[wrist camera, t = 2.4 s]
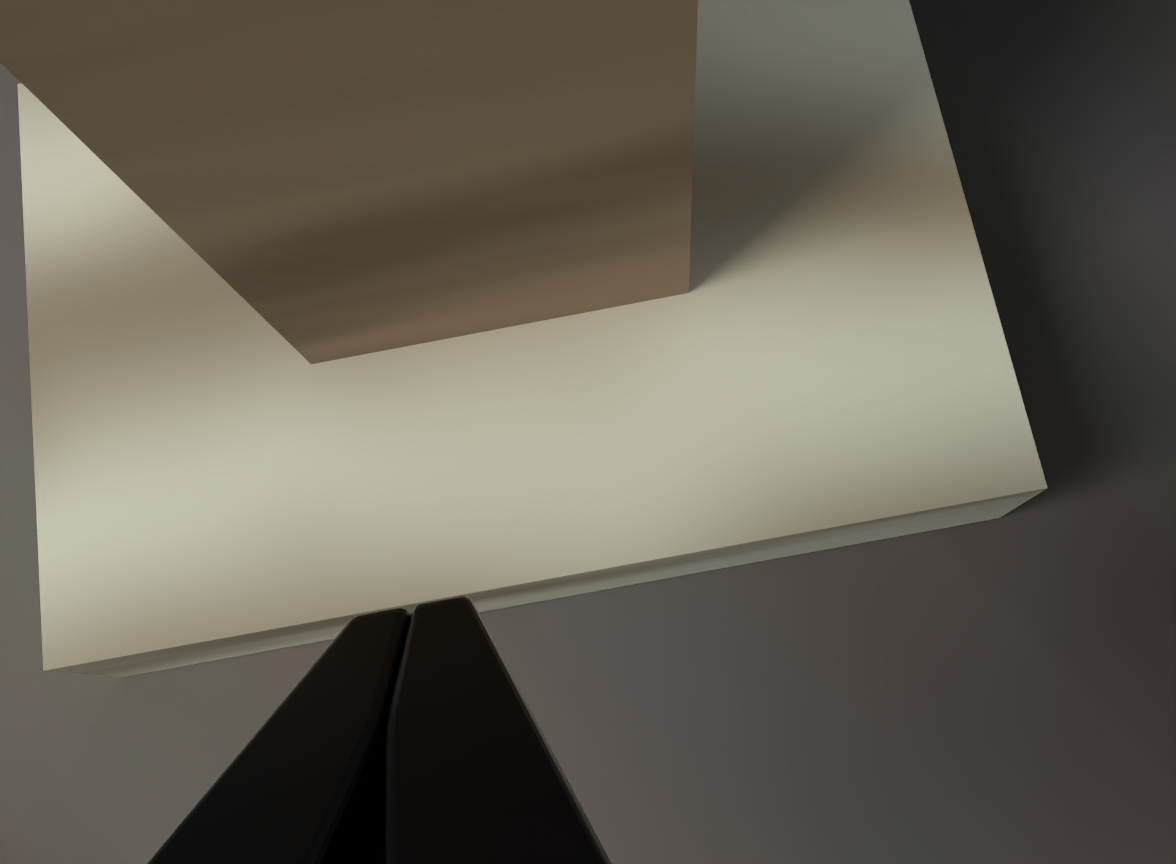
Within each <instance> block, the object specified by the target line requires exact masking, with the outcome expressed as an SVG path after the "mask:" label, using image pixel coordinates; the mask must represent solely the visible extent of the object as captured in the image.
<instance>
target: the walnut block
mask: <svg viewBox="0 0 1176 864" xmlns="http://www.w3.org/2000/svg"><path fill="white" fill-rule="evenodd" d="M697 14H698V0H0V62H1V63H2V64H3V65H4V66H5V67H6V68H7V69H8V70H9V71H10V72H11V73H12V74H13V75H14V76H15V77H16V78H17V79H18V80H19V81H20V82H21V83H22V84H23V85H24V86H25V87H26V88H27V89H28V90H29V91H30V92H31V93H32V94H33V95H34V96H36V97H37V98H38V99H39V100H40V101H41V102H42V103H43V104H44V105H45V106H46V107H47V108H48V109H49V110H50V111H51V112H52V113H53V114H54V115H55V116H56V117H57V118H58V119H59V120H60V121H61V122H62V123H63V124H64V125H65V126H66V127H67V128H68V129H69V130H70V131H72V132H73V133H74V134H75V135H76V136H77V137H78V138H79V139H80V140H81V141H82V142H83V143H84V144H85V145H86V146H87V147H88V148H89V149H90V150H91V151H92V152H93V153H94V154H95V155H96V156H97V157H98V158H99V159H100V160H101V161H102V162H103V163H104V164H105V165H106V166H108V167H109V168H110V169H111V170H112V171H113V172H114V173H115V174H116V175H117V176H118V177H119V178H120V179H121V180H122V181H123V182H124V183H125V184H126V185H127V186H128V187H129V188H130V189H131V190H132V191H133V192H134V193H135V194H136V195H137V196H138V197H139V198H140V199H141V200H142V201H144V202H145V203H146V204H147V205H148V206H149V207H150V208H151V209H152V210H153V211H154V212H155V213H156V214H157V215H158V216H159V217H160V218H161V219H162V220H163V221H164V222H165V223H166V224H167V225H168V226H169V227H170V228H171V229H172V230H173V231H174V232H175V233H176V234H177V235H178V236H180V237H181V238H182V239H183V240H184V241H185V242H186V243H187V244H188V245H189V246H190V247H191V248H192V249H193V250H194V251H195V252H196V253H197V254H198V255H199V256H200V257H201V258H202V259H203V260H204V261H205V262H206V263H207V264H208V265H209V266H210V267H211V268H212V269H213V270H214V271H216V272H217V273H218V274H219V275H220V276H221V277H222V278H223V279H224V280H225V281H226V282H227V283H228V284H229V285H230V286H231V287H232V288H233V289H234V290H235V291H236V292H237V293H238V294H239V295H240V296H241V297H242V298H243V299H244V300H245V301H246V302H247V303H248V304H249V305H250V306H252V307H253V308H254V309H255V310H256V311H257V312H258V313H259V314H260V315H261V316H262V317H263V318H264V319H265V320H266V321H267V322H268V323H269V324H270V325H271V326H272V327H273V328H274V329H275V330H276V331H277V332H278V333H279V334H280V335H281V336H282V337H283V338H284V339H285V340H286V341H288V342H289V343H290V344H291V345H292V346H293V347H294V348H295V349H296V350H297V351H298V352H299V353H300V354H301V355H302V356H303V357H304V358H305V359H306V360H307V361H308V362H309V363H310V364H316V363H321V362H326V361H332V360H337V359H342V358H347V357H353V356H358V355H363V354H369V353H374V352H379V351H385V350H390V349H395V348H400V347H406V346H411V345H416V344H422V343H427V342H432V341H437V340H443V339H448V338H453V337H459V336H464V335H469V334H474V333H480V332H485V331H490V330H496V329H501V328H506V327H511V326H517V325H522V324H527V323H533V322H538V321H543V320H548V319H554V318H559V317H564V316H570V315H575V314H580V313H586V312H591V311H596V310H601V309H607V308H612V307H617V306H623V305H628V304H633V303H638V302H644V301H649V300H654V299H660V298H665V297H670V296H675V295H681V294H686V293H689V270H690V238H691V206H692V174H693V142H694V110H695V78H696V46H697Z"/></svg>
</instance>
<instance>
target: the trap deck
mask: <svg viewBox="0 0 1176 864" xmlns="http://www.w3.org/2000/svg"><path fill="white" fill-rule="evenodd" d="M18 104H19V127H20V150H21V172H22V195H23V218H24V240H25V263H26V286H27V308H28V331H29V354H30V376H31V399H32V422H33V445H34V467H35V490H36V513H37V535H38V558H39V581H40V603H41V626H42V649H43V671H52V672H65V673H79V674H92V675H105V676H118V677H126V676H131V675H137V674H142V673H148V672H153V671H159V670H164V669H170V668H175V667H181V666H186V665H192V664H197V663H203V662H208V661H214V660H219V659H225V658H230V657H236V656H241V655H247V654H252V653H258V652H263V651H269V650H275V649H280V648H286V647H291V646H297V645H302V644H308V643H313V642H319V641H324V640H330V639H335V637H336V636H337V635H338V634H339V632H340V631H341V630H342V629H343V628H344V626H345V625H346V624H347V623H348V622H349V621H350V620H351V619H352V618H354V617H355V616H357V615H360V614H365V613H370V612H376V611H381V610H387V609H392V608H397V607H406V608H408V609H410V610H411V611H413V609H414V608H415V607H416V606H417V605H419V604H421V603H425V602H430V601H435V600H441V599H446V598H451V597H457V596H467V597H469V598H470V599H472V601H473V602H474V604H475V606H476V608H477V610H478V612H484V611H490V610H495V609H501V608H506V607H512V606H517V605H523V604H528V603H534V602H539V601H545V600H550V599H556V598H561V597H567V596H572V595H578V594H583V593H589V592H594V591H600V590H605V589H611V588H616V587H622V586H627V585H633V584H638V583H644V582H649V581H655V580H660V579H666V578H671V577H677V576H682V575H688V574H693V573H699V572H704V571H710V570H716V569H721V568H727V567H732V566H738V565H743V564H749V563H754V562H760V561H765V560H771V559H776V558H782V557H787V556H793V555H798V554H804V553H809V552H815V551H820V550H826V549H831V548H837V547H842V546H848V545H853V544H859V543H864V542H870V541H875V540H881V539H886V538H892V537H897V536H903V535H908V534H914V533H919V532H925V531H930V530H936V529H942V528H947V527H953V526H958V525H964V524H969V523H975V522H980V521H986V520H991V519H997V518H1000V517H1002V516H1003V515H1005V514H1007V513H1008V512H1010V511H1012V510H1013V509H1015V508H1016V507H1018V506H1020V505H1021V504H1023V503H1024V502H1026V501H1028V500H1029V499H1031V498H1032V497H1034V496H1036V495H1037V494H1039V493H1041V492H1042V491H1044V490H1045V489H1047V484H1046V481H1045V477H1044V474H1043V470H1042V466H1041V463H1040V459H1039V456H1038V452H1037V449H1036V445H1035V442H1034V438H1033V435H1032V431H1031V428H1030V424H1029V421H1028V417H1027V414H1026V410H1025V407H1024V403H1023V400H1022V396H1021V393H1020V389H1019V386H1018V382H1017V379H1016V375H1015V371H1014V368H1013V364H1012V361H1011V357H1010V354H1009V350H1008V347H1007V343H1006V340H1005V336H1004V333H1003V329H1002V326H1001V322H1000V319H999V315H998V312H997V308H996V305H995V301H994V298H993V294H992V291H991V287H990V284H989V280H988V277H987V273H986V269H985V266H984V262H983V259H982V255H981V252H980V248H979V245H978V241H977V238H976V234H975V231H974V227H973V224H972V220H971V217H970V213H969V210H968V206H967V203H966V199H965V196H964V192H963V189H962V185H961V182H960V178H959V174H958V171H957V167H956V164H955V160H954V157H953V153H952V150H951V146H950V143H949V139H948V136H947V132H946V129H945V125H944V122H943V118H942V115H941V111H940V108H939V104H938V101H937V97H936V94H935V90H934V87H933V83H932V80H931V76H930V72H929V69H928V65H927V62H926V58H925V55H924V51H923V48H922V44H921V41H920V37H919V34H918V30H917V27H916V23H915V20H914V16H913V13H912V9H911V6H910V2H909V0H698V14H697V46H696V78H695V110H694V142H693V174H692V206H691V238H690V270H689V293H686V294H681V295H675V296H670V297H665V298H660V299H654V300H649V301H644V302H638V303H633V304H628V305H623V306H617V307H612V308H607V309H601V310H596V311H591V312H586V313H580V314H575V315H570V316H564V317H559V318H554V319H548V320H543V321H538V322H533V323H527V324H522V325H517V326H511V327H506V328H501V329H496V330H490V331H485V332H480V333H474V334H469V335H464V336H459V337H453V338H448V339H443V340H437V341H432V342H427V343H422V344H416V345H411V346H406V347H400V348H395V349H390V350H385V351H379V352H374V353H369V354H363V355H358V356H353V357H347V358H342V359H337V360H332V361H326V362H321V363H316V364H310V363H309V362H308V361H307V360H306V359H305V358H304V357H303V356H302V355H301V354H300V353H299V352H298V351H297V350H296V349H295V348H294V347H293V346H292V345H291V344H290V343H289V342H288V341H286V340H285V339H284V338H283V337H282V336H281V335H280V334H279V333H278V332H277V331H276V330H275V329H274V328H273V327H272V326H271V325H270V324H269V323H268V322H267V321H266V320H265V319H264V318H263V317H262V316H261V315H260V314H259V313H258V312H257V311H256V310H255V309H254V308H253V307H252V306H250V305H249V304H248V303H247V302H246V301H245V300H244V299H243V298H242V297H241V296H240V295H239V294H238V293H237V292H236V291H235V290H234V289H233V288H232V287H231V286H230V285H229V284H228V283H227V282H226V281H225V280H224V279H223V278H222V277H221V276H220V275H219V274H218V273H217V272H216V271H214V270H213V269H212V268H211V267H210V266H209V265H208V264H207V263H206V262H205V261H204V260H203V259H202V258H201V257H200V256H199V255H198V254H197V253H196V252H195V251H194V250H193V249H192V248H191V247H190V246H189V245H188V244H187V243H186V242H185V241H184V240H183V239H182V238H181V237H180V236H178V235H177V234H176V233H175V232H174V231H173V230H172V229H171V228H170V227H169V226H168V225H167V224H166V223H165V222H164V221H163V220H162V219H161V218H160V217H159V216H158V215H157V214H156V213H155V212H154V211H153V210H152V209H151V208H150V207H149V206H148V205H147V204H146V203H145V202H144V201H142V200H141V199H140V198H139V197H138V196H137V195H136V194H135V193H134V192H133V191H132V190H131V189H130V188H129V187H128V186H127V185H126V184H125V183H124V182H123V181H122V180H121V179H120V178H119V177H118V176H117V175H116V174H115V173H114V172H113V171H112V170H111V169H110V168H109V167H108V166H106V165H105V164H104V163H103V162H102V161H101V160H100V159H99V158H98V157H97V156H96V155H95V154H94V153H93V152H92V151H91V150H90V149H89V148H88V147H87V146H86V145H85V144H84V143H83V142H82V141H81V140H80V139H79V138H78V137H77V136H76V135H75V134H74V133H73V132H72V131H70V130H69V129H68V128H67V127H66V126H65V125H64V124H63V123H62V122H61V121H60V120H59V119H58V118H57V117H56V116H55V115H54V114H53V113H52V112H51V111H50V110H49V109H48V108H47V107H46V106H45V105H44V104H43V103H42V102H41V101H40V100H39V99H38V98H37V97H36V96H34V95H33V94H32V93H31V92H30V91H29V90H28V89H27V88H26V87H25V86H24V85H23V84H22V83H21V84H18Z"/></svg>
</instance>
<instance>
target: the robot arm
mask: <svg viewBox="0 0 1176 864" xmlns="http://www.w3.org/2000/svg"><path fill="white" fill-rule="evenodd" d="M148 864H611V862H610V860H609V858H608V856H607V854H606V852H605V851H604V849H603V847H602V845H601V843H600V841H599V839H598V837H597V835H596V834H595V832H594V830H593V828H592V826H591V824H590V822H589V820H588V818H587V816H586V815H585V813H584V811H583V809H582V807H581V805H580V803H579V801H578V799H577V798H576V796H575V794H574V792H573V790H572V788H571V786H570V784H569V782H568V780H567V779H566V777H565V775H564V773H563V771H562V769H561V767H560V765H559V763H558V761H557V760H556V758H555V756H554V754H553V752H552V750H551V748H550V746H549V744H548V743H547V741H546V739H545V737H544V735H543V733H542V731H541V729H540V727H539V725H538V724H537V722H536V720H535V718H534V716H533V714H532V712H531V710H530V708H529V707H528V705H527V703H526V701H525V699H524V697H523V695H522V693H521V691H520V689H519V688H518V686H517V684H516V682H515V680H514V678H513V676H512V674H511V672H510V670H509V669H508V667H507V665H506V663H505V661H504V659H503V657H502V655H501V653H500V652H499V650H498V648H497V646H496V644H495V642H494V640H493V638H492V636H491V634H490V633H489V631H488V629H487V627H486V625H485V623H484V621H483V619H482V617H481V616H480V614H479V612H478V610H477V608H476V606H475V604H474V602H473V601H472V599H470V598H469V597H467V596H457V597H451V598H446V599H441V600H435V601H430V602H425V603H421V604H419V605H417V606H416V607H415V608H414V609H413V611H411V610H410V609H408V608H406V607H397V608H392V609H387V610H381V611H376V612H370V613H365V614H360V615H357V616H355V617H354V618H352V619H351V620H350V621H349V622H348V623H347V624H346V625H345V626H344V628H343V629H342V630H341V631H340V632H339V634H338V635H337V636H336V637H335V639H334V640H333V641H332V642H331V643H330V645H329V646H328V647H327V648H326V649H325V651H324V652H323V653H322V654H321V655H320V657H319V658H318V659H317V660H316V661H315V663H314V664H313V665H312V666H311V667H310V669H309V670H308V671H307V672H306V673H305V675H304V676H303V677H302V678H301V679H300V681H299V682H298V683H297V684H296V685H295V687H294V688H293V689H292V690H291V691H290V693H289V694H288V695H287V696H286V698H285V699H284V700H283V701H282V702H281V704H280V705H279V706H278V707H277V708H276V710H275V711H274V712H273V713H272V714H271V716H270V717H269V718H268V719H267V720H266V722H265V723H264V724H263V725H262V726H261V728H260V729H259V730H258V731H257V732H256V734H255V735H254V736H253V737H252V738H251V740H250V741H249V742H248V743H247V744H246V746H245V747H244V748H243V749H242V750H241V752H240V753H239V754H238V755H237V756H236V758H235V759H234V760H233V761H232V763H231V764H230V765H229V766H228V767H227V769H226V770H225V771H224V772H223V773H222V775H221V776H220V777H219V778H218V779H217V781H216V782H215V783H214V784H213V785H212V787H211V788H210V789H209V790H208V791H207V793H206V794H205V795H204V796H203V797H202V799H201V800H200V801H199V802H198V803H197V805H196V806H195V807H194V808H193V809H192V811H191V812H190V813H189V814H188V815H187V817H186V818H185V819H184V820H183V822H182V823H181V824H180V825H179V826H178V828H177V829H176V830H175V831H174V832H173V834H172V835H171V836H170V837H169V838H168V840H167V841H166V842H165V843H164V844H163V846H162V847H161V848H160V849H159V850H158V852H157V853H156V854H155V855H154V856H153V858H152V859H151V860H150V861H149V862H148Z"/></svg>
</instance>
